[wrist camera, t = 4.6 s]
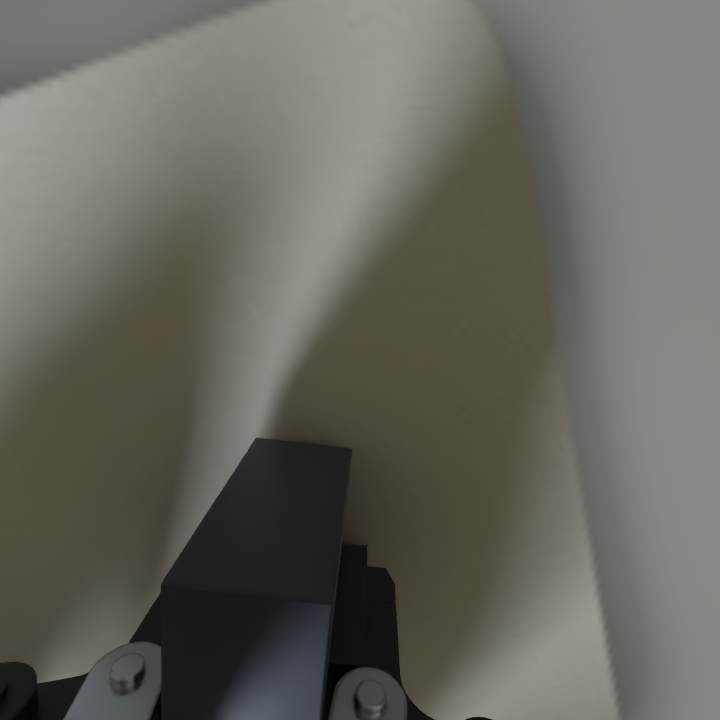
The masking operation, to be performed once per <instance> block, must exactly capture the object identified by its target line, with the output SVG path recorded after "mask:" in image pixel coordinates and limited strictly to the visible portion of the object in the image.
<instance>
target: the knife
mask: <svg viewBox="0 0 720 720" xmlns="http://www.w3.org/2000/svg"><path fill="white" fill-rule="evenodd" d="M351 457H352V449H351V448H343V447H334V446H324V445H315V444H306V443H297V442H288V441H278V440H269V439H260V438H256V439H255V440H254V442H253V443H252V445H251V446H250V448H249V449H248V451H247V452H246V454H245V456H244V457H243V459H242V460H241V462H240V463H239V465H238V466H237V468H236V469H235V471H234V472H233V474H232V475H231V477H230V478H229V480H228V482H227V483H226V485H225V486H224V488H223V489H222V491H221V492H220V494H219V495H218V497H217V498H216V500H215V501H214V503H213V504H212V506H211V508H210V509H209V511H208V512H207V514H206V515H205V517H204V518H203V520H202V521H201V523H200V524H199V526H198V527H197V529H196V530H195V532H194V534H193V535H192V537H191V538H190V540H189V541H188V543H187V544H186V546H185V547H184V549H183V550H182V552H181V553H180V555H179V556H178V558H177V560H176V561H175V563H174V564H173V566H172V567H171V569H170V570H169V572H168V573H167V575H166V576H165V578H164V579H163V581H162V583H161V720H323V713H324V703H325V694H326V684H327V675H328V665H329V656H330V647H331V638H332V630H333V621H334V612H335V603H336V594H337V586H338V577H339V568H340V559H341V550H342V542H343V532H344V523H345V514H346V504H347V495H348V485H349V476H350V466H351Z"/></svg>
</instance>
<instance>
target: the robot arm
mask: <svg viewBox="0 0 720 720" xmlns="http://www.w3.org/2000/svg"><path fill="white" fill-rule="evenodd" d="M396 617H397V613H396V596H395V583H394V582H393V580H392V578H391V576H390V575H389V573H388V571H387V569H386V568H380V567H371V566H367V545H362V544H353V543H345V542H342V550H341V559H340V568H339V577H338V586H337V594H336V603H335V612H334V621H333V630H332V638H331V647H330V656H329V665H328V675H327V684H326V694H325V703H324V713H323V720H435V719H433V718H431V717H429V716H427V715H426V714H424V713H423V712H422V711H420V710H419V709H418V708H417V707H416V706H415V705H414V704H413V703H412V701H411V700H410V699H409V697H408V696H407V694H406V692H405V690H404V688H403V685H402V682H401V677H400V663H399V647H398V630H397V619H396ZM0 720H161V593H160V594H159V596H158V597H157V599H156V601H155V602H154V604H153V605H152V607H151V608H150V610H149V612H148V613H147V615H146V616H145V618H144V619H143V621H142V623H141V624H140V626H139V627H138V629H137V630H136V632H135V634H134V635H133V637H132V638H131V640H130V641H129V643H128V644H125V645H122V646H120V647H117V648H115V649H114V650H112V651H110V652H108V653H107V654H106V655H104V656H103V657H102V658H101V659H100V660H99V661H98V662H97V663H96V664H95V665H94V666H93V667H92V669H91V670H90V672H89V673H87V674H84V675H81V676H77V677H72V678H67V679H61V680H55V681H50V682H44V683H39V684H37V676H36V673H35V671H34V670H33V668H32V667H30V666H29V665H27V664H25V663H21V662H5V663H0ZM466 720H492V719H488V718H484V717H472V718H468V719H466Z"/></svg>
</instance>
